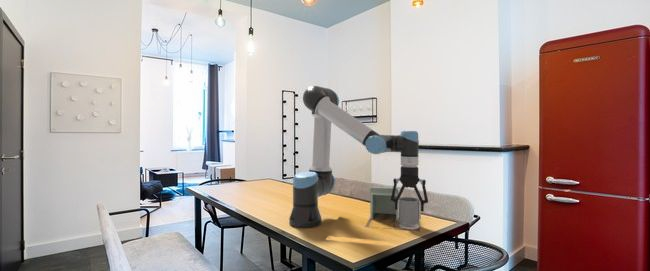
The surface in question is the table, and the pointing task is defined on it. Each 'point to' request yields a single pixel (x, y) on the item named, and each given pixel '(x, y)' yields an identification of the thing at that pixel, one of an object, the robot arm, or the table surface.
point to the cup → (409, 211)
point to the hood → (382, 201)
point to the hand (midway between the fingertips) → (409, 217)
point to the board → (389, 218)
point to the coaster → (409, 226)
